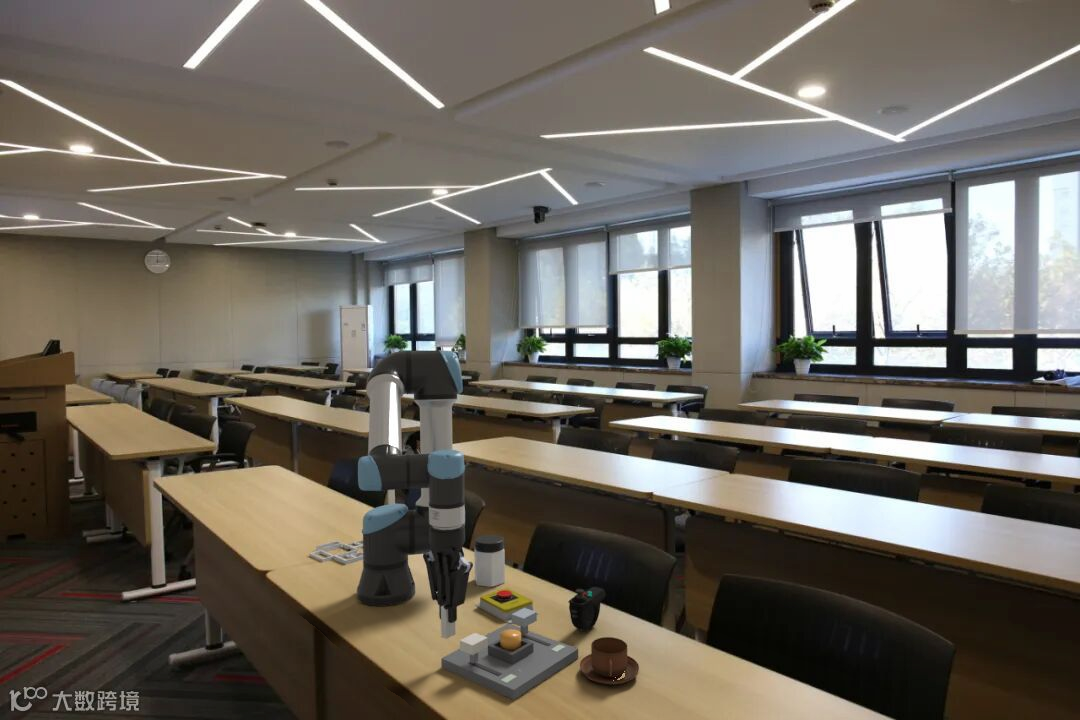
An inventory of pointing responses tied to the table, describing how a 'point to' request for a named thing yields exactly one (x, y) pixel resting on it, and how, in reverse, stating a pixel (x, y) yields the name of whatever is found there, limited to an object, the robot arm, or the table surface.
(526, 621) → the slate lever
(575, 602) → the controller
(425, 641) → the table surface
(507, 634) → the amber button
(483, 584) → the jar
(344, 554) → the floor plan model
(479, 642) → the off-white rectangular box
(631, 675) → the cup and saucer
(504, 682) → the control panel
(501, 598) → the emergency button
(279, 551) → the table surface
